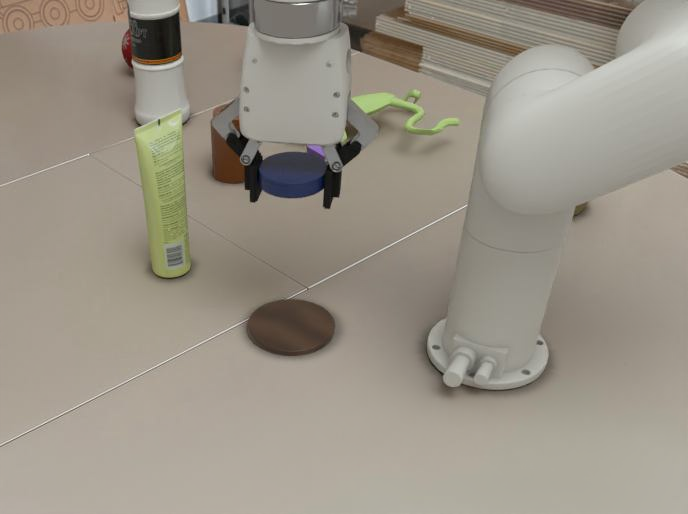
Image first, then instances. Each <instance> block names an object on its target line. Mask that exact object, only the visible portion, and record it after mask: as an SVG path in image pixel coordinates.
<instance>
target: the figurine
mask: <svg viewBox="0 0 688 514" xmlns="http://www.w3.org/2000/svg"><path fill="white" fill-rule="evenodd" d="M421 96H422V94H421V91H420V90H417V89H414V88H412V89H410V90H409V91H408V92H407V94H406V95H405V96H404V97H403V98H398V97H396V95H394V94H393V93H390V92H386V91H382V92H377V93H374V92H373V93H367V94H361V95H357V96H353V97H352V96H351V99H352V100H353V101H354V102H355V103H356V104H357V105H358V106H359V107H360V108H361V109H362V110H363V111H364V112H365V113H366V114H367V115H368V116H369V117H370V116H373V115H375V114H377V113H379V112H381V111H383V110H385V109H386V108H389V106H390V107H392V108H395V109H397V108H398V109H401V110H404V111H409V112H411V113H414V115H412V116H411V117H410V118H408V119H407V120H406V122H405V123H404V127H403V128H404V131H405V132H407V133H408V134H410V135H417V136H418V135H419V136H434V135H437V134H439V133H441V132H443V130H444V129H446V128H447V127H459V125H460V119H459V118H458V117H446V118H444V119H442V120H440V121H439V122H438V123H437V124H436V125H435V126H434V127H433V128H430V129H427V128H420V127H414V125H415V124H416V123H418V122H419V121H421V120H422V119H423V118H424V116H426V115H425V111H424V108H423V107H421V106H420V105H418V104H416V103H417V102H418V101H419V100H420V98H421ZM410 98H413V99H414V101H413V102H411V101H408V100H409V99H410ZM347 126H350V127H353V128H355V127H354V126H353V125H352V124H351V123H350V122H349V123H348V125H347ZM347 139H348V135H347V132H346V129H345V130H344V136H343V139H342V143H343V144H344V142H346V141H347ZM306 153H310V154H313V155H316V156H318V157H320V158H322V159H323V160H324V161H325V162H326V163H328V161H327V159H326V157H325V155H324V152H323V150H322V148H321V146H315V145H306Z"/></svg>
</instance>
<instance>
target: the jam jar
mask: <svg viewBox="0 0 688 514" xmlns="http://www.w3.org/2000/svg"><path fill="white" fill-rule="evenodd" d="M228 104H229V103H225V104H222V105H218V106H216V107H215V108H214V109H213V110H212V118H211V119H210V121H209V123H210V142H211V143H210V144H211V161H212V176H213V178H214V179H215V180H217V181H219V182H222V183H225V184H240V183H245V179H244V165H243V164H242V163H241V162H240V157H239V156H238V155H237V154H236V153H235V152H234V151H233V150H232V149H231V148H230V147H229V146H228V145H227V143H226V140H225V139H224V138H222V136H221V135H220V134H219V133H218V132H217V131H216V129H215V128H214V127H213V126H212V121H213V119H214V117H215V116H216V114H218V113H219V112H220V111H221V110H222V109H223V108H225V107H226V106H227V105H228ZM232 123H233V125H234V127H235V128H236V129H238V130H240V124H239V115H238V116H237V117H236V118H235V119H233V120H232ZM247 139H248V138H247ZM248 140H249V139H248Z"/></svg>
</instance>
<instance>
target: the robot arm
mask: <svg viewBox="0 0 688 514" xmlns="http://www.w3.org/2000/svg"><path fill="white" fill-rule="evenodd" d="M358 9H359V0H253V21H252V22H251V23H249V25H248V28H247V29H246V34H245V40H244V46H243V53H242V60H241V61H242V62H241V72H240V75H241V76H240V87H239V94H238V96H236V97H235V98H234V99H233V100H232V101H231V102H229V103H227V104H228V105H227V106H226V107H225V108H223V109H222V110H221V111H220V112H219V113H218V114H216V116H215V117H214V119H213V121H212V126H213V127H214V128H215V129H216V131H217V132H218V133H219V134H220V135H221V136H222V138H224V139H225V140H226V143H227V145H228V146H229V147H230V148H231V149H232V150H233V151H234V152H235V153H236V154H237V155H238V156H239V157H240V162H241V163H242V164H243V165H244V179H245V182H244V191H249V203H254V204H255V203H257V202H258V201H259V198H260V196H261V195H262V192H263V190H262V189H261V188H260V186H259V183H258V167H259V165H260V163H261V161H262V160H264V156H263V155H262V152H260V150H259V149H260V147H261V145H262V143H271V144H272V143H274V144H287V145H299V146H300V145H301V146H308V145H315V146H321V148H322V150H323V152H324V155H325V157H326V159H327V161H328V162H327V168H326V171H325V176H324V189H323V195H322V196H323V197H322V207H323V208H324V209H325V210H330V209H331V207H332V203H333V201H334V198H338V199H339V198H340V195H341V190H342V177H343V176H342V174H343V168H344V167H345V166H347V164H349V163H350V162H351V161H352V160H354V159H355V158H356V157H358V156H359V155H360V154H361V152H362V151H363V150H364V149H365V148H367V146H369V145H370V144H371V143H372V142H373V141H374V140H375V139H376V138H377V137H378V134H379V130H380V127H379V124H377V122H376V121H374V119H372V117H370V116H368V115H367V114H366V113H365V112H364V111H363V110H362V109H361V108H360V107H359V106H358V105H357V104H356V103H355V102H354V101H353V100H352V99H351V98H352V47H351V35H350V30H349V26H348V25H347V24H346V23H344V22H343V21H344V19H345V20H347V19H348V18H357V16H358ZM482 109H483V110H482V114H481V115H482V116H481V123H480V128H479V136H478V137H479V138H478V142H477V147H476V155H475V160H474V166H473V172H472V177H471V183H470V188H469V194H468V200H467V206H466V210H465V216H464V219H463V225H462V229H461V230H462V231H461V236H460V241H459V246H458V252H457V258H456V263H455V269H454V274H453V279H452V284H451V290H450V294H449V295H450V296H449V301H448V305H447V312H446V317H444V318H443V319H441V320H439V321H438V322H436V323H435V325H434V326H432V328H431V329H430V331H429V332H428V336H427V340H426V352H427V356H428V358H429V360H430V362H431V363H432V365H433V366H434V367H435V368H436V369H437V370H438V371H439V372H441V373H442V374H443V375H442V380H443V383H444V384H445V385H446V386H447V387H450V388H458V387H460V386H461V384H462V385H465V386H468V387H471V388H476V389H481V390H482V389H483V390H488V391H489V390H491V391H494V390H495V391H502V390H503V391H505V390H512V389H516V388H520V387H524V386H526V385H529V384H531V383H532V382H535V380H537V379H538V378H540V377H541V375H542V374H543V373H544V371H545V369H546V367H547V364H548V360H549V356H550V353H549V346H548V345H547V343H546V341H545V339H544V338H543V336H542V335H541V334H540V332H541V328H542V325H543V321H544V317H545V314H546V310H547V307H548V304H549V300H550V296H551V293H552V289H553V286H554V283H555V279H556V275H557V272H558V268H559V266H560V261H561V258H562V256H563V251H564V248H565V245H566V241H567V238H568V235H569V232H570V228H571V225H572V222H573V217H574V215H573V214H574V211H575V207H576V206H577V205H580V204H583V203H585V202H588V201H589V202H591V201H593V200H595V199H598V198H601V197H603V196H606V195H608V194H611V193H613V192H615V191H618V190H621V189H623V188H625V187H628V186H630V185H633V184H636V183H638V182H640V181H644V180H645V179H648V178H650V177H653V176H656V175H658V174H661V173H663V172H665V171H668V170H670V169H672V168H675V167H678V166H680V165H682V164H684V163H687V162H688V0H643V1H642V2H641V3H639V4H637V5H636V7H634V9H632V11H630V13H629V14H628V15H627V17H626V18H625V20H624V21H623V23H622V25H621V26H620V29H619V31H618V34H617V37H616V42H615V47H614V59H612V60H610V61H608V62H605V64H603V65H601V66H599V67H596V68H595V66H594V65H593V64H592V62H591V61H590V60H589V59H588V58H587V57H586V56H585V55H584V54H582V53H581V52H579V51H578V50H576V49H574V48H572V47H569V46H566V45H562V44H552V43H551V44H550V43H549V44H540V45H536V46H533V47H531V48H528V49H526V50H524V51H521V52H520V53H518V54H516V55H515V56H514V57H513V58H512V59H510V60H508V62H507V63H505V65H504V66H502V68H501V69H500V71H499V72H498V73H497V74H496V75H495V77H494V79H493V81H492V83H491V84H490V86H489V89H488V90H487V93H486V97H485V99H484V104H483V108H482ZM238 115H239V124H240V130H238V129H236V128H235V127H234V125H233V123H232V120H233V119H235V118H236V117H237V116H238ZM349 122H350V123H349ZM348 124H350V125H353V126H354V127H353V128H354V129H356V130H357V131H358V132H357V134H356V135H355V136H353V137H352V138H350V139H349V140H348V141H347V142H346V143H345V144H344V142H343V143H342V139H343V136H344V130H345V131H346V128H347V127H348V126H349V125H348ZM247 138H248V139H249V140H248V139H247ZM589 202H588V203H589Z"/></svg>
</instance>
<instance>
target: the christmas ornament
mask: <svg viewBox="0 0 688 514" xmlns="http://www.w3.org/2000/svg"><path fill="white" fill-rule="evenodd" d="M121 54H122V58H123V60H124V62H125V63H126V64H127V66H128V67H129V68H131V70H133V65H132V59H133V57H132V48H131V39H130V30H129V28H128V29H127V30H126V32H125V33H124V34H123V37H122V41H121Z"/></svg>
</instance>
